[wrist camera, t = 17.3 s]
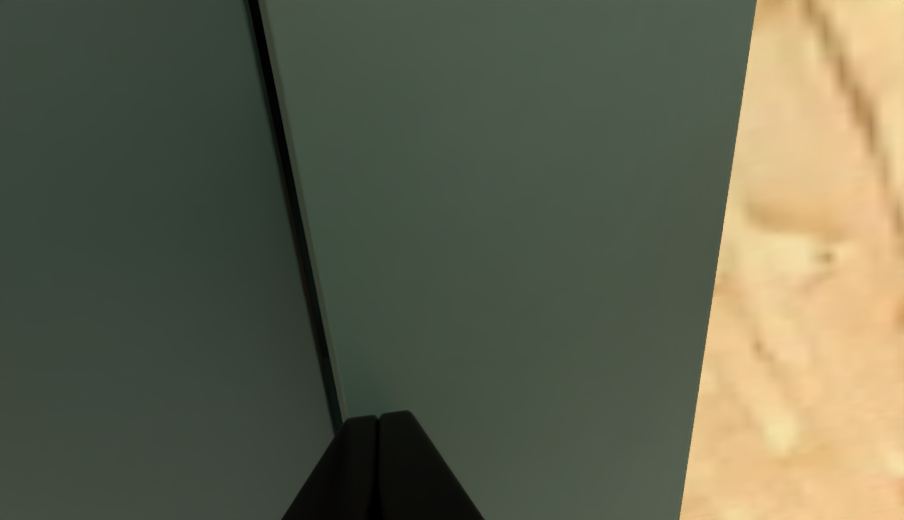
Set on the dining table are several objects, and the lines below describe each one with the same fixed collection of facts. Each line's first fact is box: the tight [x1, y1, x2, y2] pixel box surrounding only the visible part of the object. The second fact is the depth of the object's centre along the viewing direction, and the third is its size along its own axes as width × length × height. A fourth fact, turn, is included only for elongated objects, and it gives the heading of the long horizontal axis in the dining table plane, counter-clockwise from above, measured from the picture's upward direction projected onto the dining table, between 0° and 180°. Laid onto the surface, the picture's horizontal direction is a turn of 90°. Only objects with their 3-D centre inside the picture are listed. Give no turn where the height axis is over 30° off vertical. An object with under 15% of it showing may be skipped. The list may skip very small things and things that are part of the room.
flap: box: [258, 0, 757, 520], centre depth 9 cm, size 13×7×1 cm, turn 4°
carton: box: [0, 0, 343, 520], centre depth 14 cm, size 13×14×9 cm
